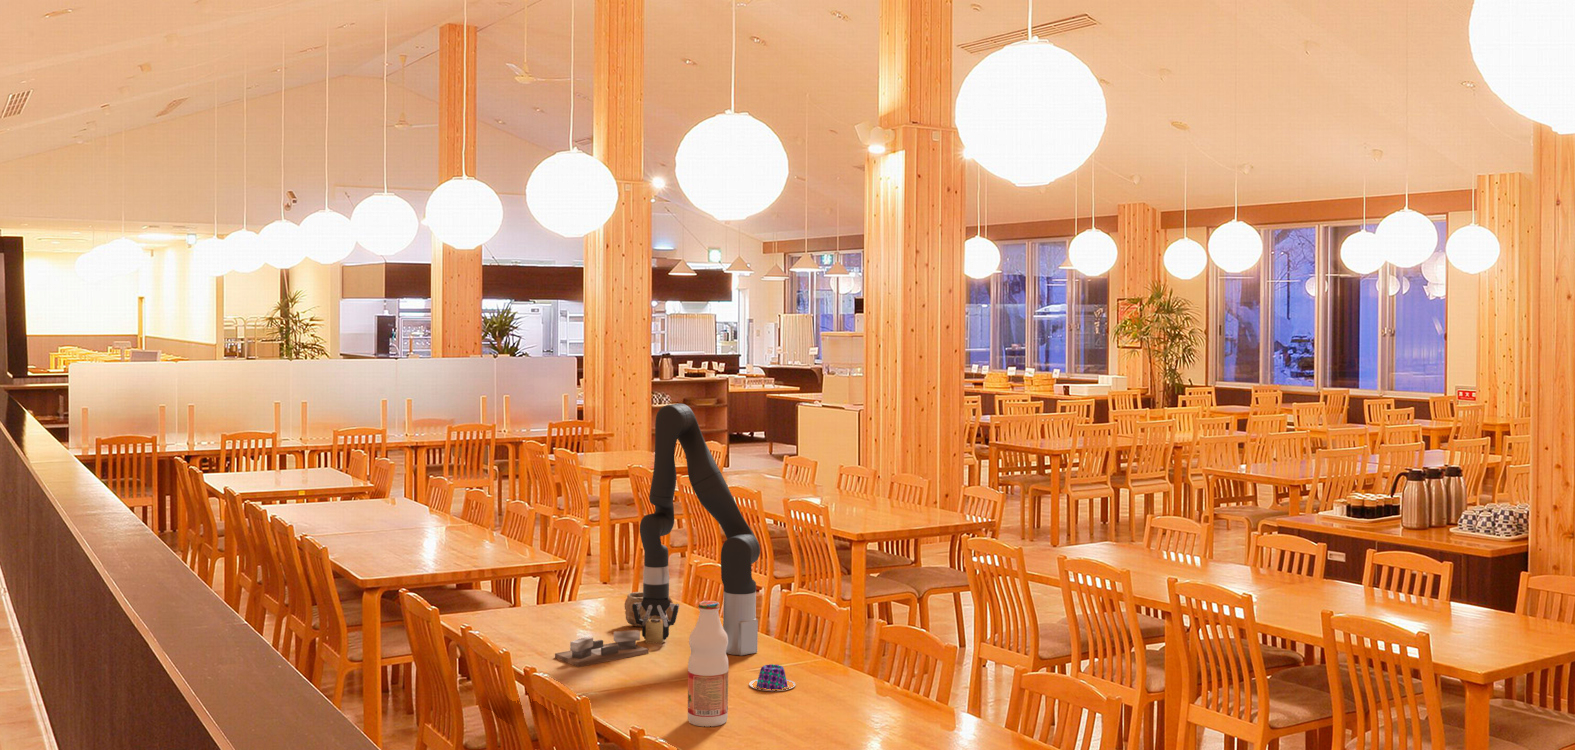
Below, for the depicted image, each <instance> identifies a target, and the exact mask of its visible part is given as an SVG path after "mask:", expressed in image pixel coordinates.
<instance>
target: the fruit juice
mask: <svg viewBox="0 0 1575 750" xmlns="http://www.w3.org/2000/svg"><path fill="white" fill-rule="evenodd" d="M720 606H721V605H720V602H719V601H716V600H703V601H699V602H698V611H699V614H698V618H697V621H696V624H695V627H694V628H693V630H691V632H690V634H689V638H688V639H689V641H688V644H689V648H690V655H689V658H688V662H687V663H688V665H687V720H688V722H689V724H691V725H693V726H697V727H704V726H705V727H706V728H707V727H709V728H710V726H711V727H717V726H721V725H725V723H727V721H728V717H729V716H728V715H729V713H728V712H729V658H728V656H727V653H726V649H727V646H728V636H727V633H726V632H725V630H724V629H723V623H722V622H721V619H720V614H719V610H720ZM705 727H704V728H705Z"/></svg>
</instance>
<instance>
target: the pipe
mask: <svg viewBox="0 0 1575 750" xmlns="http://www.w3.org/2000/svg"><path fill="white" fill-rule="evenodd" d="M626 596H627V597H626V599H625V601H624V610H625V611H624V614H625V620H626V623H628V624H629V625H631V626H634V627H637V628H639V627H641V628H642V625H640V624H637V623H636V621H635V616H634V612H633V607H632V605H633V604H634V603H635V602H637V603H639V602H642V600H643V591H633V592H629V593H628V594H627V595H626ZM669 600H670V603H673V604H674V601H673V599H672V598H671V597H670V596H669ZM639 612H640V616H641V619H642V620H644V617H645V614H646V611H645V610H644V608H643V607H642V606H641V609H640V610H639ZM666 613H667V617H668V620H669V621H670V620H671V617H672V613H673V611H671V607H670V606H669V608H668V609H667V610H666ZM649 619H661V617H660V616H656V615H654V616H650V618H649Z"/></svg>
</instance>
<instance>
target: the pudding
mask: <svg viewBox="0 0 1575 750" xmlns="http://www.w3.org/2000/svg"><path fill="white" fill-rule="evenodd" d="M755 681H757V686H759V687H760V688H766V689H771V690H766V689H763V691H764V692H765V691H766V692H767V691H768V692H772V691H773V690H772V689H782V688H784V687H787V686H788V685H787V681H789V682H792V683H793V685H794V686H793V687H791V688H789V689H786V688H784V689H786V690H785V691H787V690H790V689H793V688H794V687H795V686H796V683H795V681H793V680H790V679H787V677H786V672H785V668H784V666H782V665H779V664H773V663H771V664H765V665H763V666H761V667H760V671H759V674H758V678H756V679H753V680H751V681H750V682H749V683H748V684H749V687H751V688H753V689H755V690H759V691H762V690H761V689H760V688H759V687H757V686H756V687H757V688H759V689H757V688H754V687H753V685H752V684H753V683H754V682H755ZM787 688H788V687H787ZM781 691H782V692H783V689H782V690H777V691H776V692H781Z"/></svg>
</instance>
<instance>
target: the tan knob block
mask: <svg viewBox="0 0 1575 750" xmlns="http://www.w3.org/2000/svg"><path fill="white" fill-rule="evenodd" d="M663 627H664V624H663V621H662V619H649V620H648V621H647V622H646V637H645V639H644V640H645V642H644V643H645V644H655V643H656V644H658V645H663V644H664V642H665V640H663ZM656 644H655V645H656Z"/></svg>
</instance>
